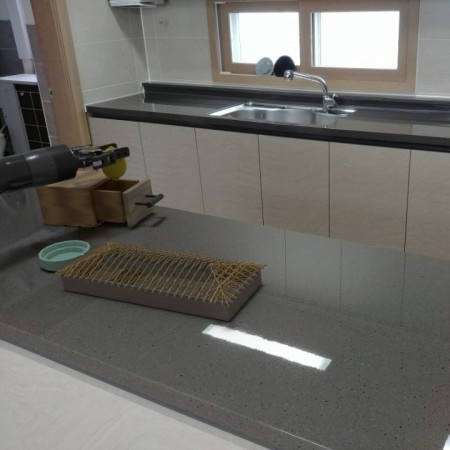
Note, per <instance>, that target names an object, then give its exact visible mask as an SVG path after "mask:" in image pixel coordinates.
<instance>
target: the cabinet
mask: <svg viewBox="0 0 450 450" xmlns="http://www.w3.org/2000/svg"><path fill="white" fill-rule="evenodd" d="M110 179H111V178H109V177H107V176H106V175H105V174H104V173H103V171H95V170H93V171H92V170H91V171H90V170H77V175H76V177H75V178H74V179H70V180H66V181H62V182H58V183H54V184H50V185H46V186H41V187H35V191H36V194H37V199H38V203H39V207H40V212H41V216H42V219H43V224H44V225H48V226H49V225H50V226H63V227H65V226H64V225H67V226H66V227H78V226H81V227H80V228H91V229H93V228H92V227H96V228H98V227H99V226H100V225H102V224H104V223H105V222H103V221H96V216H95V211H94V206H93V201H92V196H91V191H90V190H92V189H94V188H95V187H97V186H99V185H101V184H103V183H104V182H106V181H108V180H110ZM102 222H103V223H102ZM101 223H102V224H101ZM99 224H100V225H99ZM98 225H99V226H98ZM78 228H79V227H78Z"/></svg>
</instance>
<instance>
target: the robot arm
mask: <svg viewBox="0 0 450 450" xmlns="http://www.w3.org/2000/svg"><path fill="white" fill-rule="evenodd" d="M110 146H112V147H113V148H117V149H110V150H106V149H108V148H109V147H110ZM130 155H131V151H130V148H129V146H122V147H118V144H117V142H111V143H106V144H103V145H102V144H101V145H99V144H95V145H94V144H91V143H90V144H85V145H78V146H72V147H71V146H70V147H69V146H68V145H67V144H65V143H60V144H55V145H51V146H46V147H41V148H36V149H31V150H28V151H25V152H22V153H18V154H17V153H16V154H13V155H8V156H4V157H0V196H1V195H4V194H11V193H16V192H20V191H25V190H28V189H33V188H36V187H41V186H46V185H50V184H54V183H58V182H62V181H66V180H70V179H74V178H75V177H76V175H77V171H79V169H82V170H88V169H91V168H92V170H93V171H98V170H100V169H101V170H102V168H104V167H107V166H110V165H113V164H116V163H117V162H116V160H117V159H121V158H125V159H126V158H128V157H130ZM108 156H109V159H107V158H108Z"/></svg>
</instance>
